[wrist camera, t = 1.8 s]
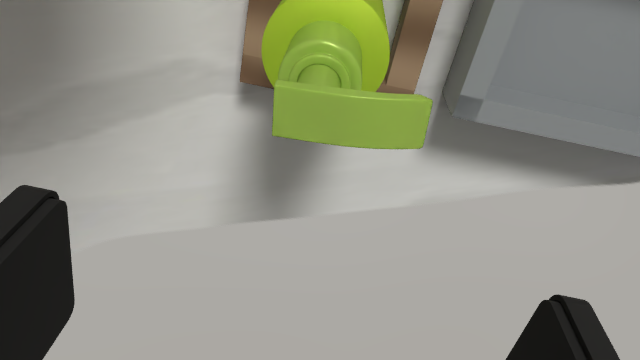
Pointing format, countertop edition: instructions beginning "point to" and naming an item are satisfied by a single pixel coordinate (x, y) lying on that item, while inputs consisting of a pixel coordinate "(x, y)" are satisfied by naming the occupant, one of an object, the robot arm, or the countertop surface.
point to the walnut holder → (404, 54)
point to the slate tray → (552, 70)
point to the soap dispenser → (337, 77)
